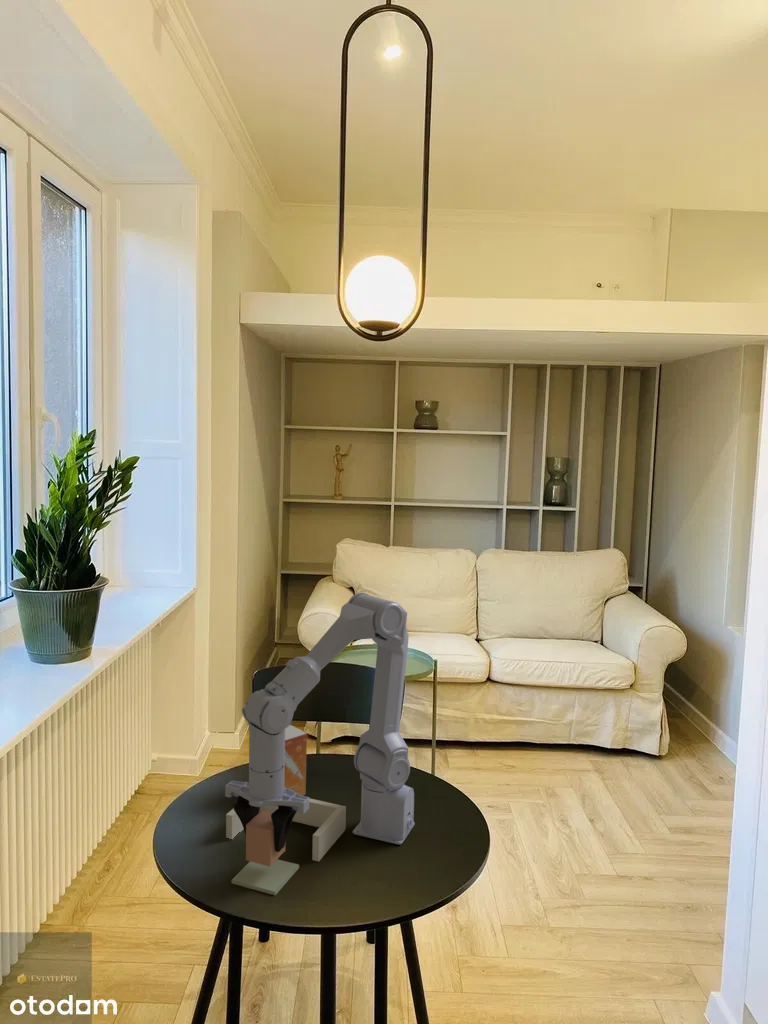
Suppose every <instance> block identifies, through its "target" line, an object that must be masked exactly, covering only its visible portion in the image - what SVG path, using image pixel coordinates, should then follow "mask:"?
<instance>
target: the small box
mask: <svg viewBox="0 0 768 1024" xmlns="http://www.w3.org/2000/svg"><path fill="white" fill-rule="evenodd" d="M307 742H308V733H307V732H305V731H303V730H301V729H299V728H297V727H296V726H293V725H292V724H290V725H289V726H288V727H287V728H285V779H284V787H286V788H288V789H290V790H292V791H294V792H296V793H298V794H300V795H302V796H306V786H307V785H306V784H307V749H308V747H307Z"/></svg>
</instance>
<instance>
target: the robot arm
mask: <svg viewBox="0 0 768 1024" xmlns="http://www.w3.org/2000/svg"><path fill="white" fill-rule="evenodd" d="M407 617H408V612H407V611H406V610H405V609H404V608H403V606H401V604H399V602H396V601H393V600H388V599H385V598H381V597H378V596H373V595H370V594H369V593H366V592H357V593H355V594H354V595H352V596H351V597H350V598H349V600H348V601H347V602H346V603H344V604H343V605H342V606H341V610H340V614H339V616H338V618H337V619H336V620H335V621H334V622H333V624H332V625H330V627H329V628H328V629H327V631H326V632H325V633H324V634H323V636H322V637H321V638H320V639H318V640H319V641H317V642H316V644H315V645H314V646H313V647H312V648H311V649H310V651H309V652H308V653H307V654H306V655H304V656H295V657H294V658H293V659H289V660H288V661H287V662H286V663H285V667H284V668H283V669H282V670H281V672H279V673H278V674H277V675H276V676H275V677H274V678H273V679H272V680H271V681H270V682H268V683H267V684H266V685H265V687H264V688H263V689H259V690H256V691H254V692H253V693H251V695H250V696H249V697H248V698H247V700H246V701H245V706H244V707H242V709H241V712H242V716H243V718H244V719H245V721H246V722H247V724H248V732H249V734H248V735H249V736H248V741H249V743H248V745H249V746H248V748H249V749H248V781H236V780H231V781H229V782H228V783H227V784H225V785H224V787H225V788H224V789H225V790H224V791H225V792H224V793H225V794H224V796H225V797H227V798H232V797H237V800H236V801H237V802H236V803H235V804H234V805H233V808H234V811H235V812H236V814H237V815H238V817H239V819H240V821H241V823H242V825H243V828H244V829H243V831H244V834H245V836H246V824H248V823H249V822H250V821H251V820H252V819H253V818H254V817H255V816H256V815H258V814H259V810H260V806H262V805H275V806H278V809H277V810H275V811H274V812H273V813H272V814H271V818H272V822H273V826H274V847H275V851H276V852H280V851H281V849H282V848H283V847H284V846H285V847H286V844H285V841H286V839H287V836H288V832H289V831H290V827H291V824H292V822H293V821H292V820H293V818H294V816H295V814H296V812H297V811H298V813H300V814H304V813H305V812H306V811H307V810H308V809H309V798H310V797H309V796H306V795H303V796H302V795H300V794H298V793H296V792H294V791H292V790H290V789H288V788H286V787H284V779H285V728H287V727H288V726H289V725H291V723H292V720H293V717H294V713H295V711H296V710H297V709H298V708H297V707H298V705H299V704H300V703H301V702H302V701H303V700H304V699H305V697H306V696H307V695H308V694H309V693H311V692H312V690H313V689H314V688H315V687H316V685H318V684H319V683H320V681H321V671H322V670H323V669H324V668H325V667H326V666H327V665H328V664H329V663H330V662H332V660H334V659H335V657H337V655H339V654H340V653H341V652H342V651H343V650H344V649H346V648H347V647H348V646H349V645H350V644H351V643H352V642H353V641H355V640H370V639H371V640H372V641H373V642H374V643H375V644H376V646H377V651H376V659H375V660H376V661H375V670H374V679H373V680H374V681H373V689H372V699H371V700H372V701H371V710H370V719H369V729H367V730H366V731H364V733H362V734H361V735H360V737H359V744H358V747H357V749H356V751H355V753H354V757H353V763H354V764H353V765H354V767H355V769H356V770H357V771H358V772H359V779H360V780H361V799H360V800H361V803H360V807H361V808H360V822H359V823H358V824H357V825H356V826H355V827H354V829H353V830H352V834H353V835H356V836H360V837H364V838H369V839H373V840H376V841H377V840H378V841H382V842H386V843H390V844H395V845H402V844H403V843H404V841H405V840H406V838H407V837H408V835H409V834H410V832H411V830H412V829H413V827H414V826H415V820H414V816H415V813H414V811H415V792H414V788H413V787H411V786H409V785H406V782H407V781H408V779H409V776H410V773H411V763H410V759H409V747H408V744H407V743H406V742H405V740H404V738H403V737H402V734H401V733H400V727H401V718H402V717H401V715H402V705H403V698H404V689H405V687H404V686H405V677H406V667H407V658H408V657H407V656H408V650H409V649H408V648H409V633H408V629H407V621H408V619H407Z"/></svg>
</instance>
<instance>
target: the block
mask: <svg viewBox="0 0 768 1024" xmlns="http://www.w3.org/2000/svg"><path fill="white" fill-rule="evenodd" d="M271 814H272V813H271V812H267V811H261V812H260V813H259V814H258V815H256V816H255V817H254V818H253V819H252V820H251V821H250V822H249V823H248V824H246V835H245V861H246V862H247V861H248V862H250V861H251V862H255V863H259V864H262V865H266V866H271V865H272V864H273V863H274V862H275V861H276V860H277V859H279V858H280V857H281V856H282V854H284V853H285V852H286V841H285V846H284V847H283V848H282V849H281V851H280V852H276V851H275V847H274V826H273V822H272V818H271Z"/></svg>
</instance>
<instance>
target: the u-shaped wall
mask: <svg viewBox="0 0 768 1024" xmlns="http://www.w3.org/2000/svg"><path fill="white" fill-rule="evenodd" d="M277 809H278V806H275V805H262V806H260V810H259V813H260V812H261V811H267V812H271V813H273V812H274V811H275V810H277ZM346 814H347V806H346V805H340V804H338V803H337V804H336V803H332V802H327V801H323V800H319V799H314V798H310V797H309V809H308V810H307V811H306V812H305V813H304V814H300V813H298V811H297V812H296V814H295V816H294V818H293V820H292V822H295V823H297V824H304V825H307V826H310V827H311V826H312V827H315V828H318V829H316V831H315V832H314V833H313V834H312V854H311V855H312V858H311V859H312V861H313V862H320V861H321V860H322V859H323V857H324V856H325V855H326V854H327V853H328V852H329V850H330V849H331V848H332V846H334V844H335V843H336V842H337V840H338V839H339V838H340V837H341V836H342V835H343V833H344V832H345V831H346V828H347V827H346V826H347V825H346V821H347V815H346ZM225 818H226V819H225V828H226V829H225V836H226V837H225V838H229V839H228V840H230V839H232V840H233V839H235V838H236V837H237V836H238V835H239V834H240V833H241V832H242V831H244V828H243V825H242V823H241V821H240V819H239V817H238V815H237V814H236V812H235V811H234V807H233V808H232V809H231V810H229V811H228V812H227V813H226V815H225ZM239 832H240V833H239ZM238 833H239V834H238ZM237 834H238V835H237ZM236 835H237V836H236ZM235 836H236V837H235ZM234 837H235V838H234Z"/></svg>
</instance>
